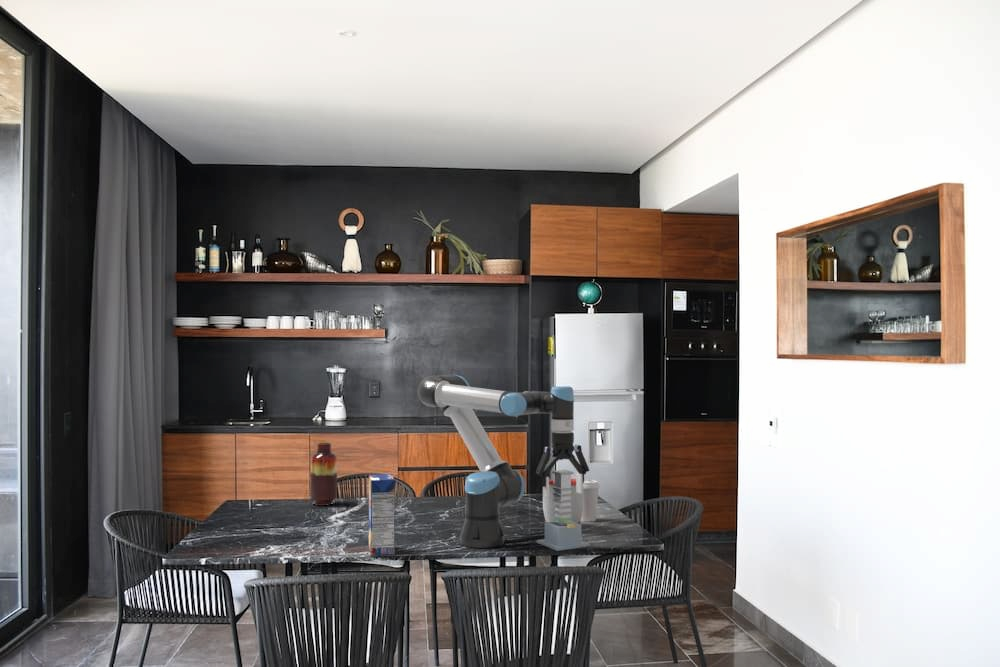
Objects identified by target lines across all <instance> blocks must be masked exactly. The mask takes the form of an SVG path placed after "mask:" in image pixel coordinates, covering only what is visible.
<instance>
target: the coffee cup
mask: <svg viewBox="0 0 1000 667" xmlns="http://www.w3.org/2000/svg"><path fill="white" fill-rule="evenodd" d="M600 487H601V486H600V483H599V481H598V480H595V479H584V483H583V513H582V517H581V522H585V521H586V522H588V523H590V522H591V521H592V522H596V521H597V513H598V512H597V511H598V502H599V501H598V500H599V489H600Z"/></svg>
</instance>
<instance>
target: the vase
mask: <svg viewBox="0 0 1000 667" xmlns="http://www.w3.org/2000/svg"><path fill="white" fill-rule="evenodd" d="M337 496H338V456H337V455H336V453H334V452H332V442H328V441H326V442H317V445H316V453H314V454H312V456H311V457H310V499H311V500H312V501H313V502H312V505H313V504H317V505H326V504H331V503H334V504H335V501H334V500H336V499H337Z"/></svg>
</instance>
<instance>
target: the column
mask: <svg viewBox="0 0 1000 667" xmlns="http://www.w3.org/2000/svg"><path fill="white" fill-rule="evenodd" d="M551 473H552V474H554V482H555V487H553V489H554V490H555V493H553V495H555V499H553V501H555V505H553V507H555V511H553V513H555V516H554V517H553V519H555V524H557V525H560V526H565V525H567V524H571V520H573V518H572V517H571V514H573V512H572V511H571V508H573V506H571V502H573V500H571V496H573V494H571V490H573V488H571V479H572V475H574V471H572V470H568V469H567V470H566V469H561V470H559V469H558V470H551Z"/></svg>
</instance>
